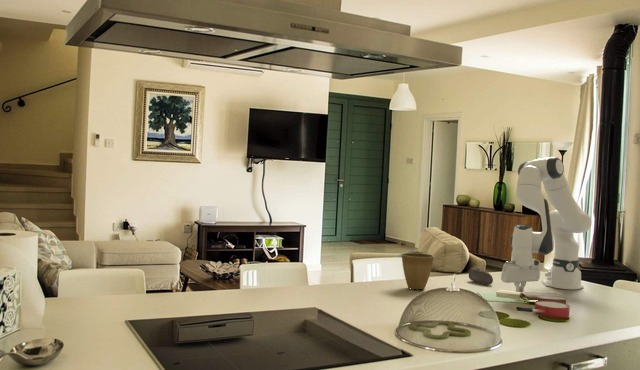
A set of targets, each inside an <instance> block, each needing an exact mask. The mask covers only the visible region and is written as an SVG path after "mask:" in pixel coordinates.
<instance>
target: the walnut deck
mask: <svg viewBox="0 0 640 370" xmlns="http://www.w3.org/2000/svg"><path fill="white" fill-rule="evenodd" d="M521 296H523V297H525V298H527V299H528V300H538V301H554V302H560V303H565V304H567V299H565V298H564V297H562V296H560V295H559V294H557V293H554V292H539V291H538V292H534V291H523V292H521Z"/></svg>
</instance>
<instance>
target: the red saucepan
mask: <svg viewBox="0 0 640 370" xmlns="http://www.w3.org/2000/svg"><path fill="white" fill-rule="evenodd" d="M570 308H571V306H570V305H569V304H568V303H566V304H565V303H560V302H554V301H536V302H535V303H534V308H531V307H526V306H516V308H515V310H516V311H517V312H525V313H526V312H527V313H535V314H536V315H538V316H539V315H542V316H541V317H543V316H546V317H545V318H548V317H552V318H551V319H556V318H564V319H568V318H569V317H570V310H571V309H570Z"/></svg>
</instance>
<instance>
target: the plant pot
mask: <svg viewBox="0 0 640 370" xmlns="http://www.w3.org/2000/svg"><path fill="white" fill-rule="evenodd" d="M434 259H435V256H434V255H433V254H429V253H419V252H416V253H415V252H406V253H401V263H402V269H403V273H404V275H403V276H404V279H405V282H406V285H407V289H409V288H411V289H424V290H425V289H426V286H427V284H428V282H429V278H430V276H431V271H432V267H433V263H434ZM411 289H410V290H411Z"/></svg>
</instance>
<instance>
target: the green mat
mask: <svg viewBox="0 0 640 370" xmlns="http://www.w3.org/2000/svg"><path fill="white" fill-rule="evenodd" d="M476 294H478V295H479V296H480V295H481V296H482V297H483V298H482V297H481V296H480V297H481V298H482V299H483V300H485V299H486V300H487V301H486V300H485V301H486V302H496V303H497V302H499V303H513V304H514V303H516V304H528V303H527V302H524V300H523V299H524V298H523V299H521V298H519V299H517V298H509V297H502V296H496V292H481V291H477V293H476Z"/></svg>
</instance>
